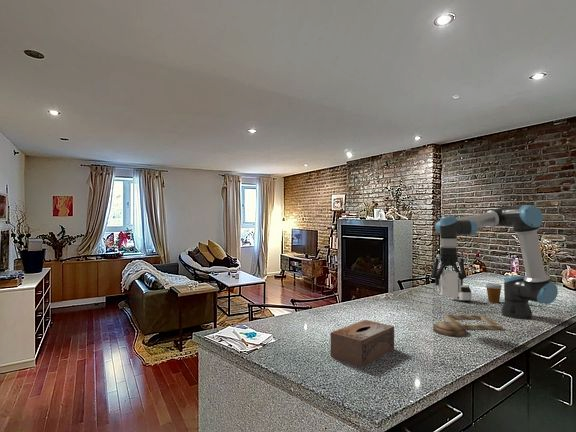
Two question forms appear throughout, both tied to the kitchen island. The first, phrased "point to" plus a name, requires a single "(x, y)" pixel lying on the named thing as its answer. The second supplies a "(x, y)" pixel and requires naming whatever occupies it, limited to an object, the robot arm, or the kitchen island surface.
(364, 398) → the kitchen island surface
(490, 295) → the disposable coffee cup
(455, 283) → the mug
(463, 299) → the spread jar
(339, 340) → the tissue box cover
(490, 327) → the square wooden frame
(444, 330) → the brown wooden saucer
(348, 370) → the kitchen island surface
